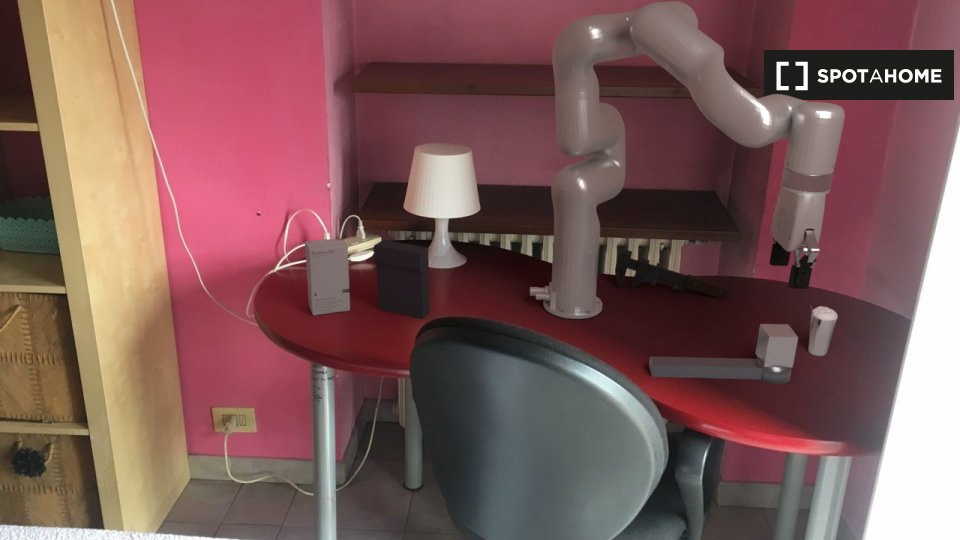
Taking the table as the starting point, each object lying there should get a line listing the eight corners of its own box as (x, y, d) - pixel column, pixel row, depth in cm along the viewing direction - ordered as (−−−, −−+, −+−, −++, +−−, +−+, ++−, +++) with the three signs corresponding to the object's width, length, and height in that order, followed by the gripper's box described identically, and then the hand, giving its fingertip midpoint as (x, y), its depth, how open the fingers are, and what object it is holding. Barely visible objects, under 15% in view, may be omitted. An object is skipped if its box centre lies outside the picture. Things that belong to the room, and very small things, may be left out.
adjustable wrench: (718, 318, 170) (610, 285, 174) (717, 313, 172) (611, 280, 176) (731, 286, 166) (620, 252, 170) (730, 281, 169) (621, 248, 173)
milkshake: (796, 347, 147) (804, 300, 144) (822, 346, 148) (831, 299, 144) (807, 358, 143) (816, 310, 139) (834, 357, 144) (844, 309, 140)
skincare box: (312, 316, 158) (306, 250, 153) (308, 305, 164) (302, 240, 158) (352, 310, 161) (348, 245, 155) (347, 299, 166) (342, 235, 161)
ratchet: (652, 380, 135) (656, 348, 133) (647, 364, 141) (650, 332, 139) (794, 384, 135) (800, 352, 132) (783, 367, 140) (789, 336, 138)
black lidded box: (431, 312, 161) (430, 246, 155) (421, 320, 157) (420, 253, 151) (387, 302, 165) (384, 238, 159) (376, 310, 161) (373, 244, 155)
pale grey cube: (764, 366, 134) (769, 336, 132) (755, 353, 139) (760, 323, 137) (792, 367, 134) (798, 337, 132) (783, 353, 139) (788, 324, 136)
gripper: (766, 165, 132) (751, 256, 138) (802, 195, 116) (782, 296, 122) (810, 166, 131) (792, 257, 138) (851, 196, 115) (829, 298, 122)
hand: (787, 276), depth 130 cm, fingers open, 9 cm apart
